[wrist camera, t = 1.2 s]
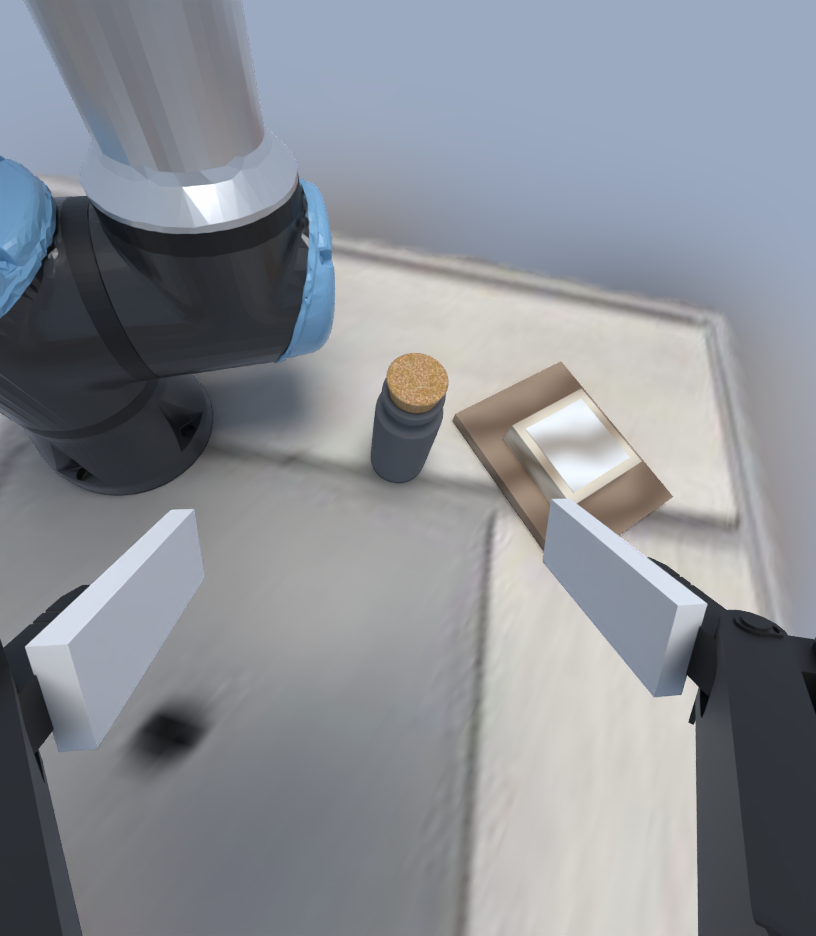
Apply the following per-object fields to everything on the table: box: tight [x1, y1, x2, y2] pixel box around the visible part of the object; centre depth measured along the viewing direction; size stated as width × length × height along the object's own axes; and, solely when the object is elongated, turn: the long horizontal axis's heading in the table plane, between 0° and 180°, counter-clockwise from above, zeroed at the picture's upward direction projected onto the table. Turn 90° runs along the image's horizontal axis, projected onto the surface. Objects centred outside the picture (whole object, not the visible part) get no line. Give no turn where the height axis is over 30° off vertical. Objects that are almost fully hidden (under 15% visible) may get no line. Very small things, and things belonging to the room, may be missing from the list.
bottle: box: [371, 353, 448, 483], centre depth 38 cm, size 6×6×15 cm
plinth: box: [453, 362, 673, 551], centre depth 45 cm, size 20×16×5 cm
